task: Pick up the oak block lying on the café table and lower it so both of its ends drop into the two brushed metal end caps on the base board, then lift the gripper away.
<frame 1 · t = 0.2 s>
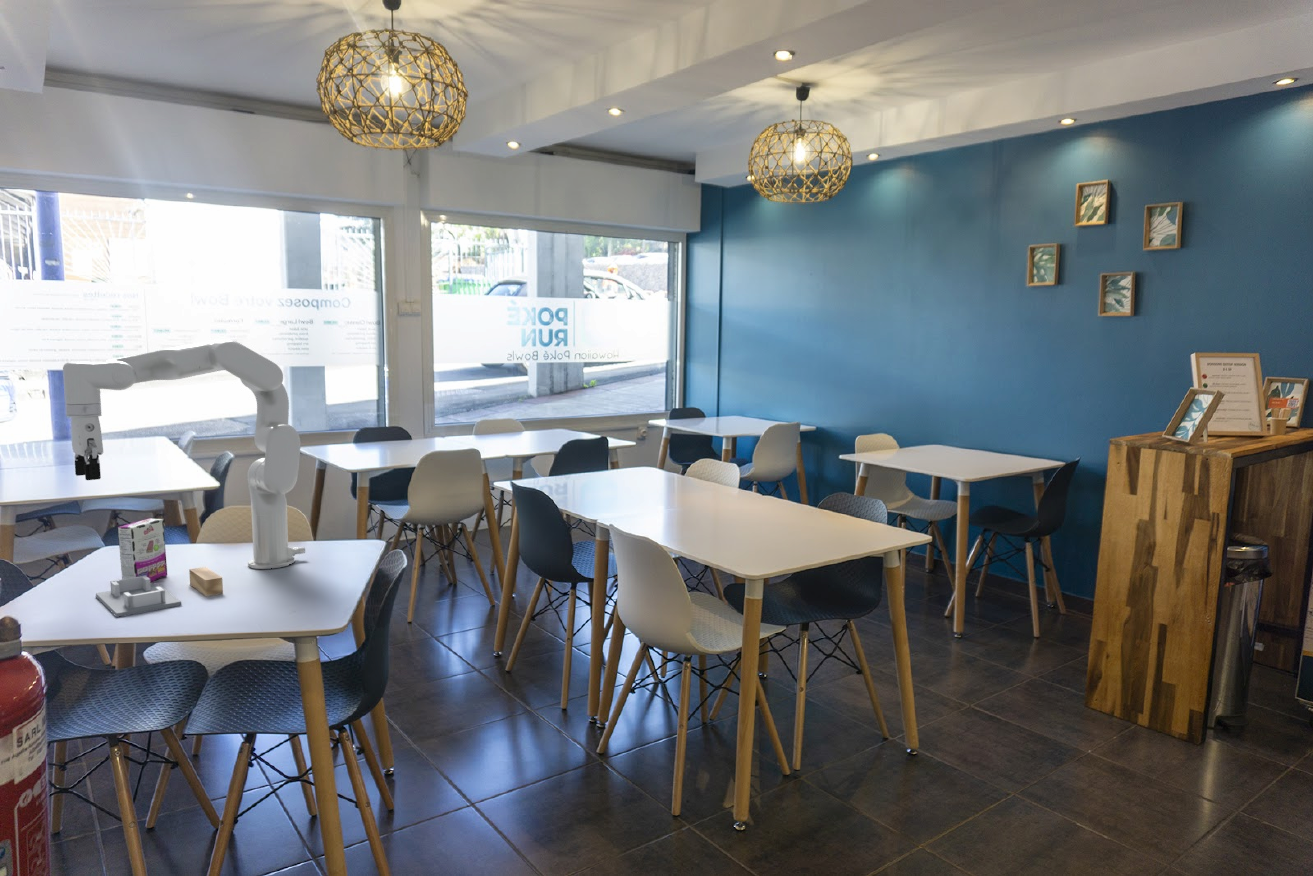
hand: (88, 477, 219), 31 cm above the table, tool pointing down, fingers open, 9 cm apart
oak block: (206, 589, 229), on the table
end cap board: (138, 601, 217), on the table
candy bar box: (144, 581, 235), on the table
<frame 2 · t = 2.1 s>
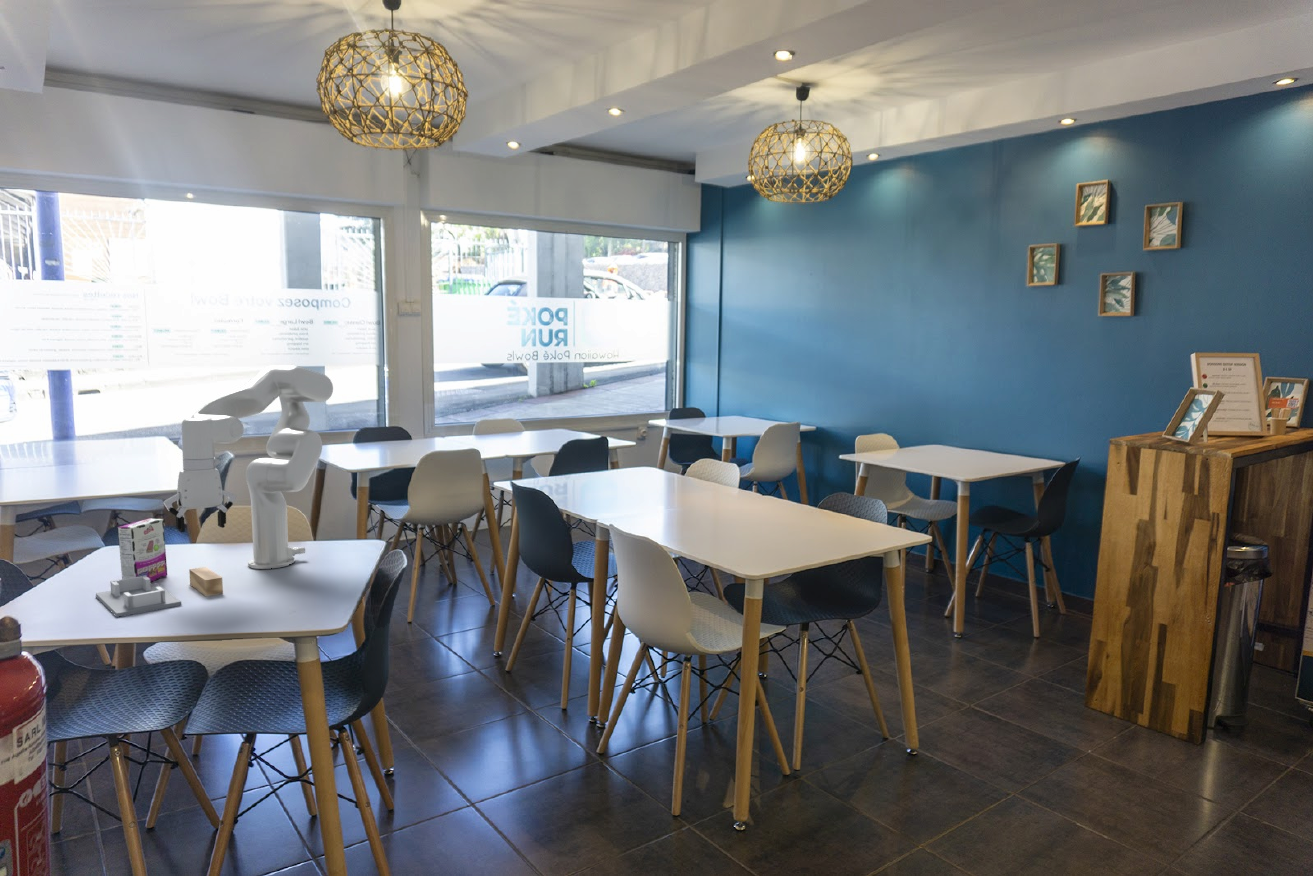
hand: (201, 529, 226), 16 cm above the table, tool pointing down, fingers open, 9 cm apart
nothing on the table moved.
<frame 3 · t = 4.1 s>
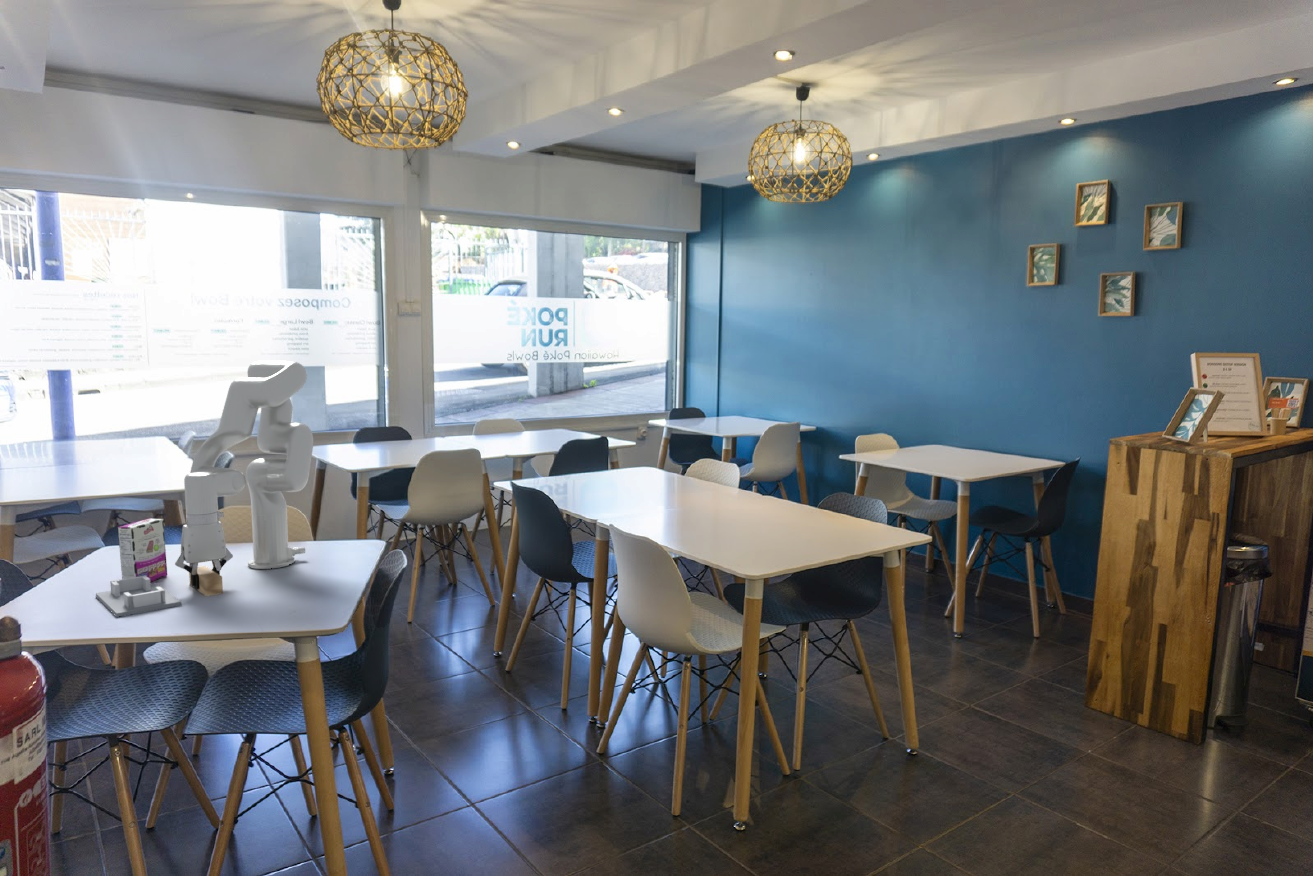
hand: (205, 585, 228), 1 cm above the table, tool pointing down, fingers closed on oak block, 4 cm apart
oak block: (206, 588, 229), on the table, touching gripper
everything else where it was.
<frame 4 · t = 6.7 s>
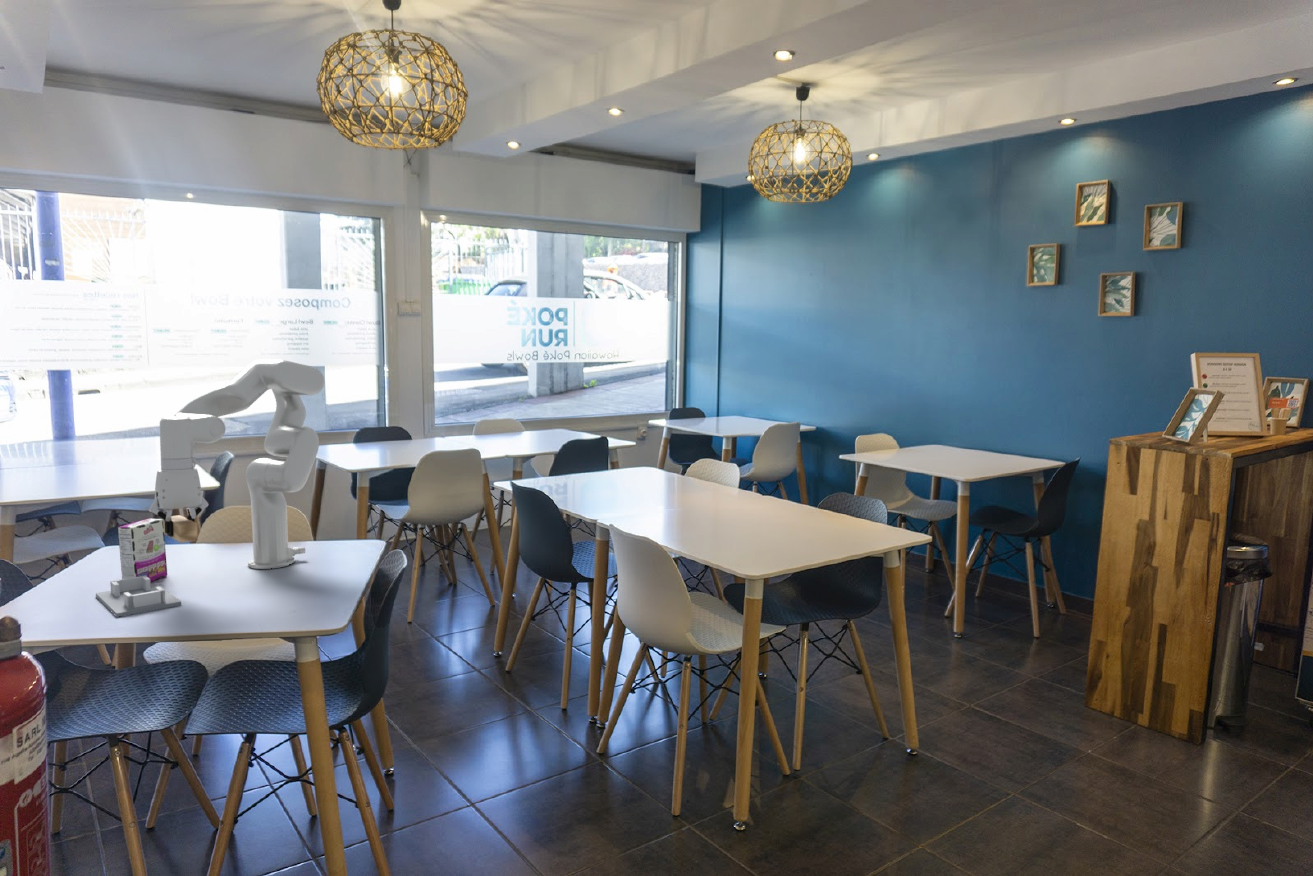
hand: (180, 533, 223), 16 cm above the table, tool pointing down, fingers closed on oak block, 4 cm apart
oak block: (180, 537, 223), point 15 cm above the table, touching gripper
everything else where it was.
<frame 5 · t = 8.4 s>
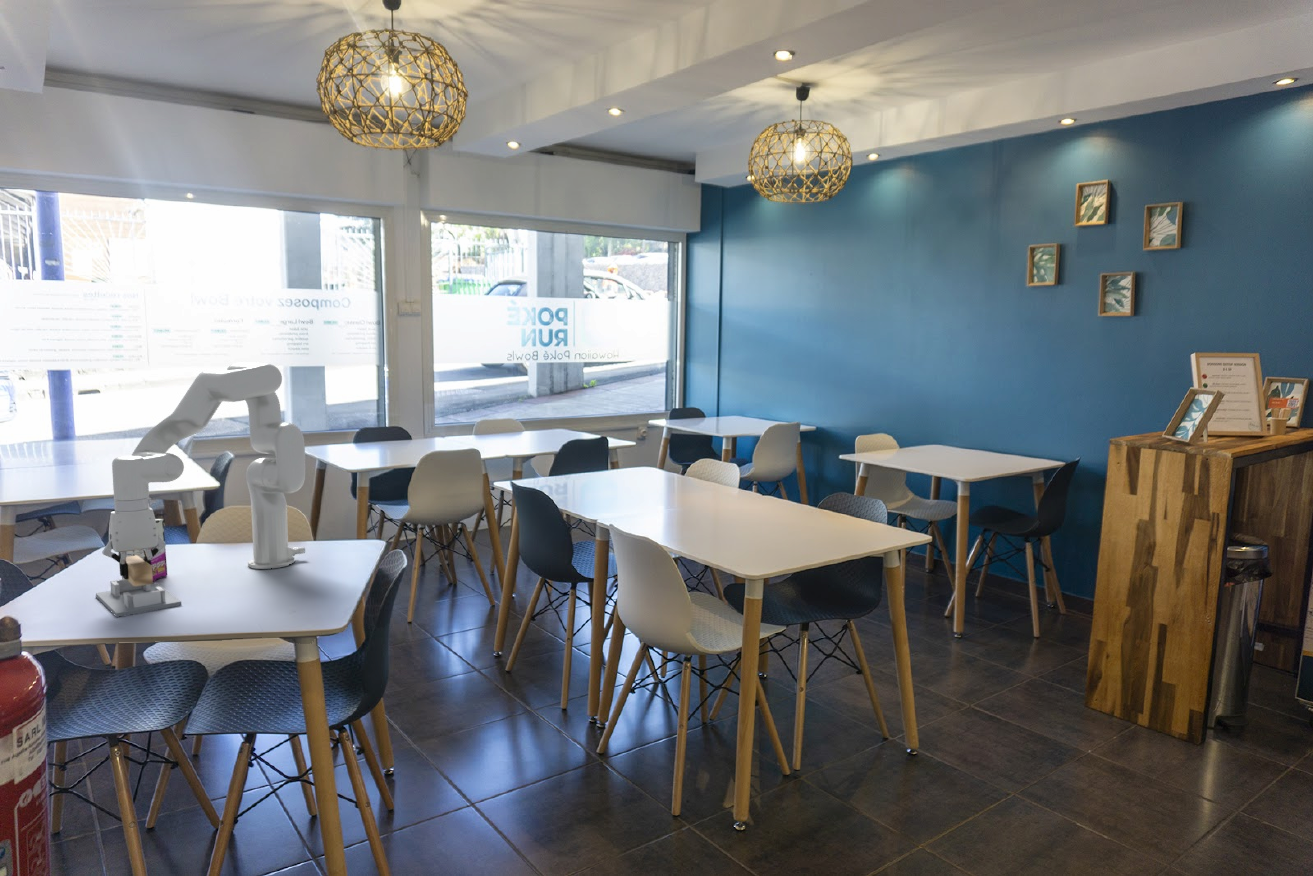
hand: (136, 575, 217), 7 cm above the table, tool pointing down, fingers closed on oak block, 4 cm apart
oak block: (136, 579, 217), point 6 cm above the table, touching gripper
everything else where it was.
when the fingers open (3 cm above the table, at t = 9.5 s): oak block stays where it is, resting on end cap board.
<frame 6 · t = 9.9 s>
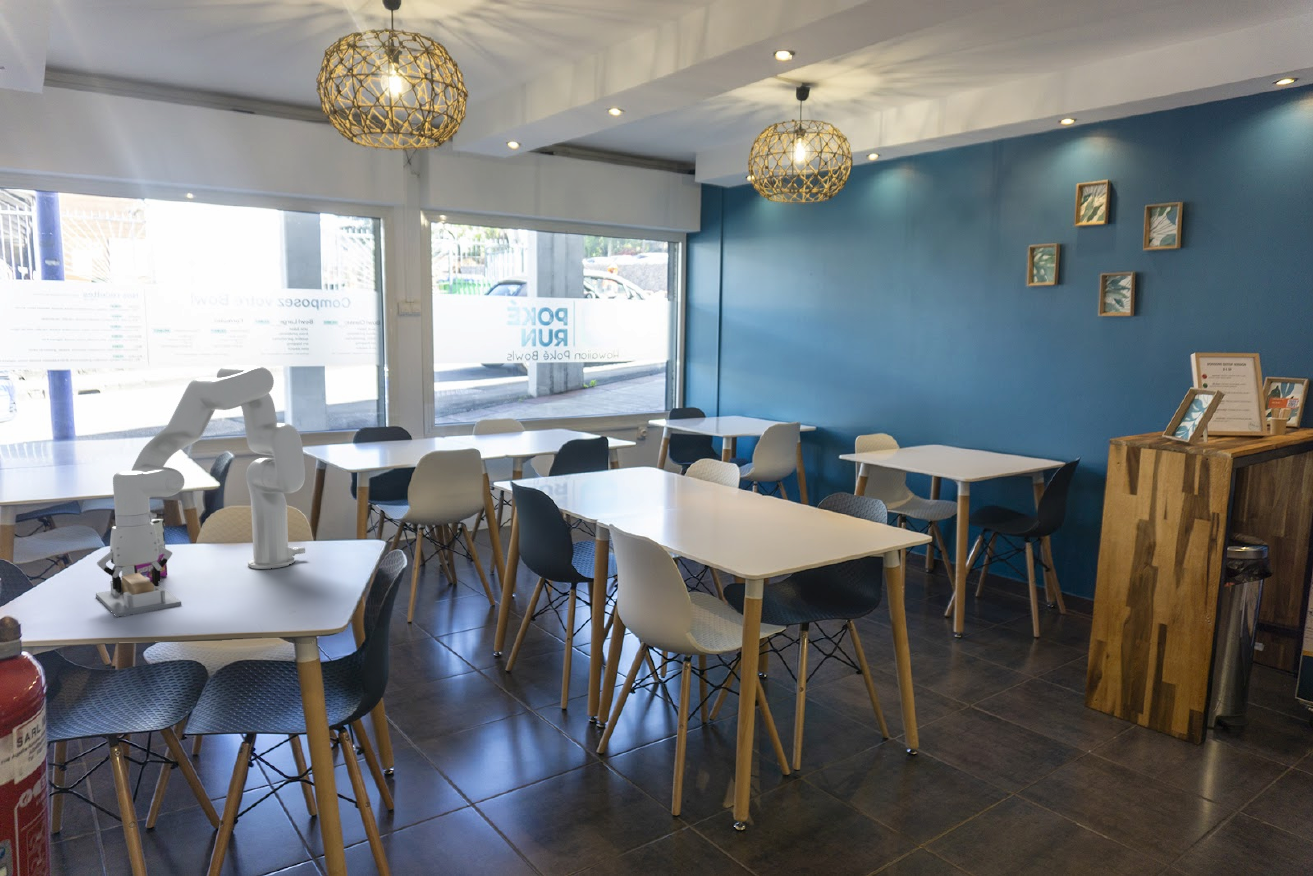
hand: (137, 588, 217), 3 cm above the table, tool pointing down, fingers open, 7 cm apart
oak block: (138, 597, 217), point 1 cm above the table, touching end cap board
everything else where it was.
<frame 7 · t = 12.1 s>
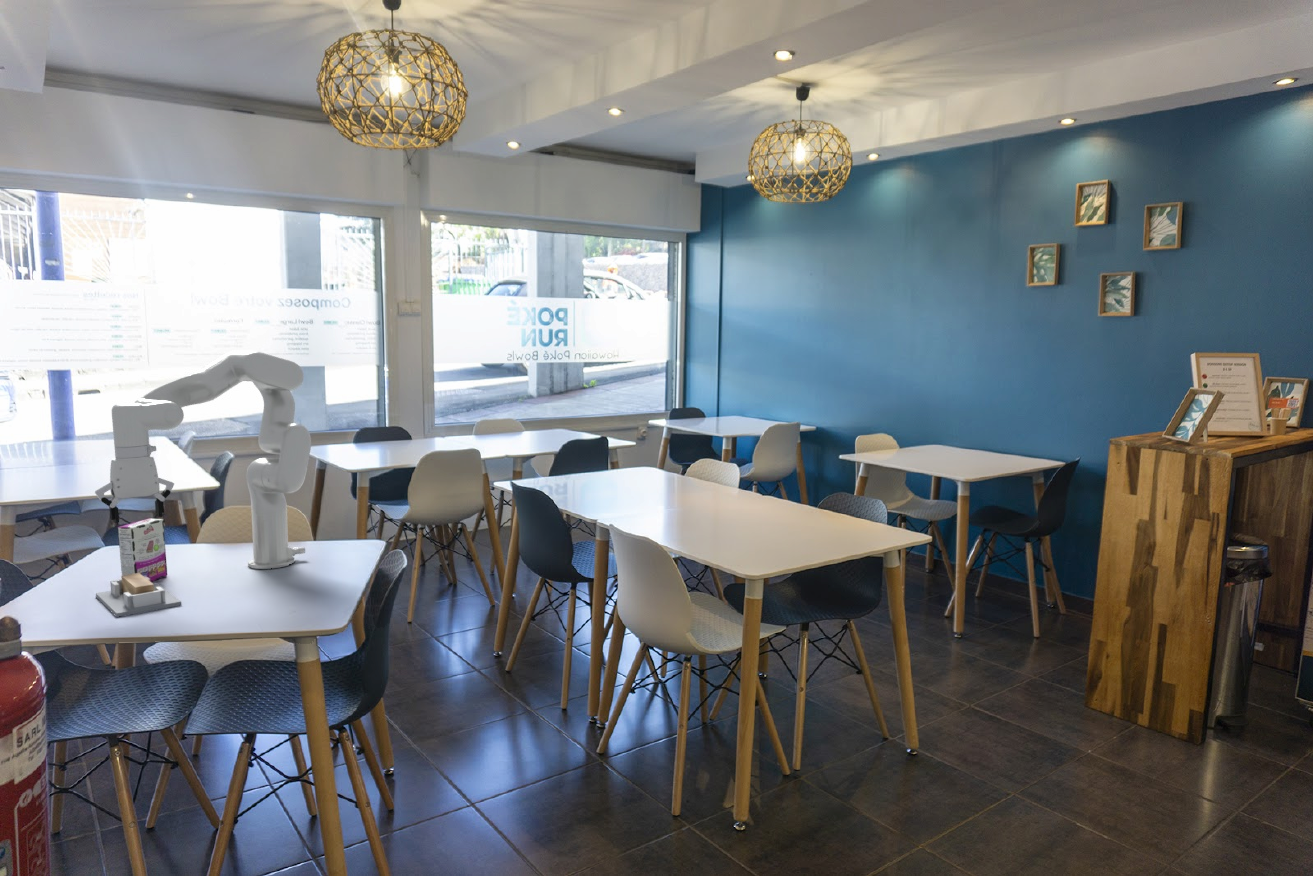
hand: (138, 519, 217), 21 cm above the table, tool pointing down, fingers open, 9 cm apart
nothing on the table moved.
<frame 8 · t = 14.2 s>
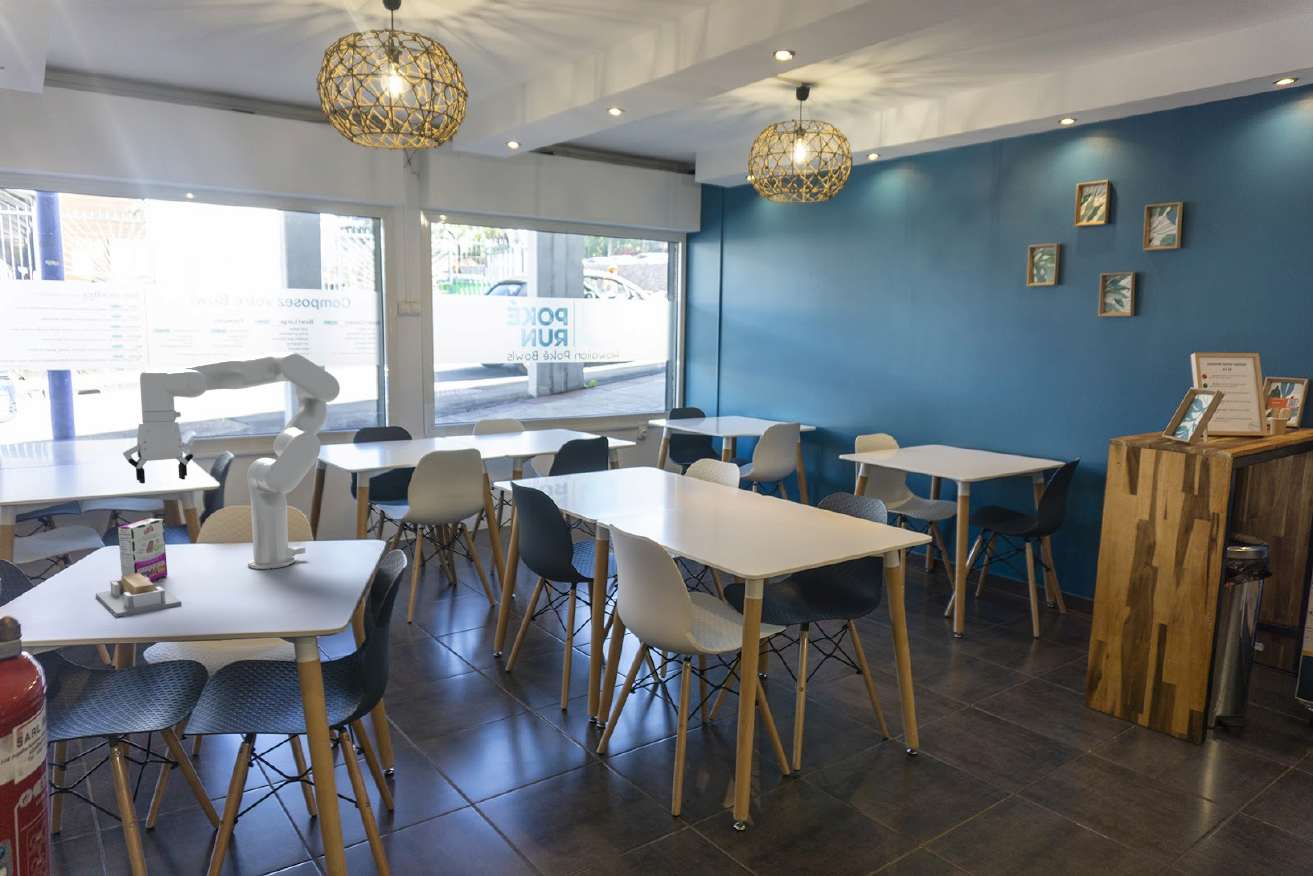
hand: (162, 480, 230), 28 cm above the table, tool pointing down, fingers open, 9 cm apart
nothing on the table moved.
at the end: oak block 0.1 cm off-centre on the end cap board, point 1.0 cm above the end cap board's base; oak block tilted 0°; the gripper is holding nothing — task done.
